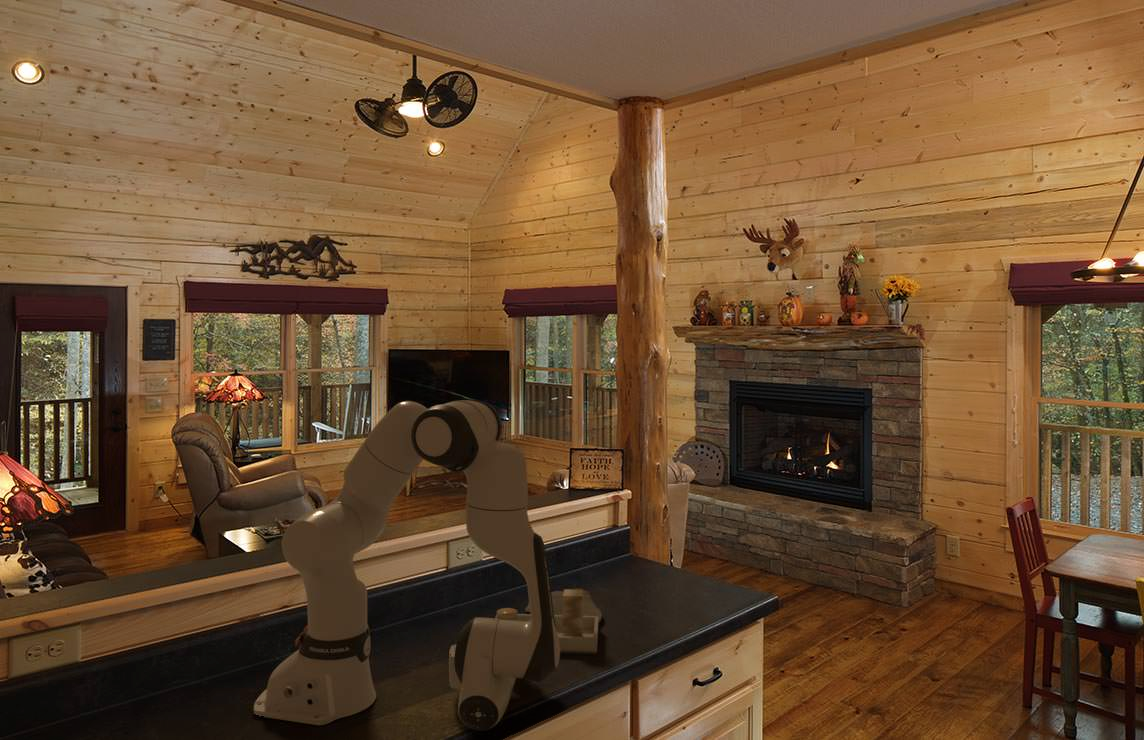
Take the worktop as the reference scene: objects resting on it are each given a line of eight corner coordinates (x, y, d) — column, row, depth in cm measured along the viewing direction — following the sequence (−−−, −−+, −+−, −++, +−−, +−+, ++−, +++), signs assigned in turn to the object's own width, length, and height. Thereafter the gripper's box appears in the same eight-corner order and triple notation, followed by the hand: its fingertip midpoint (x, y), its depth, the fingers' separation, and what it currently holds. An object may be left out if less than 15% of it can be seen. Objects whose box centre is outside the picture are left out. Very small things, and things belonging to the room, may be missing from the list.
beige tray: (493, 650, 171) (493, 635, 171) (502, 627, 184) (502, 613, 184) (596, 653, 169) (596, 638, 169) (598, 630, 183) (598, 616, 183)
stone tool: (515, 609, 200) (559, 639, 179) (514, 596, 200) (558, 625, 178) (579, 594, 210) (628, 621, 188) (578, 582, 210) (627, 607, 188)
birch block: (562, 642, 174) (562, 595, 174) (563, 634, 179) (564, 589, 178) (581, 643, 174) (582, 596, 174) (582, 635, 179) (583, 589, 178)
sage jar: (493, 670, 160) (493, 615, 160) (497, 660, 165) (497, 607, 165) (516, 671, 160) (517, 616, 160) (519, 661, 165) (520, 607, 165)
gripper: (547, 659, 144) (553, 630, 158) (442, 655, 145) (457, 627, 159) (547, 691, 144) (553, 660, 158) (442, 687, 146) (457, 657, 159)
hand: (504, 644), depth 159 cm, fingers open, 8 cm apart
